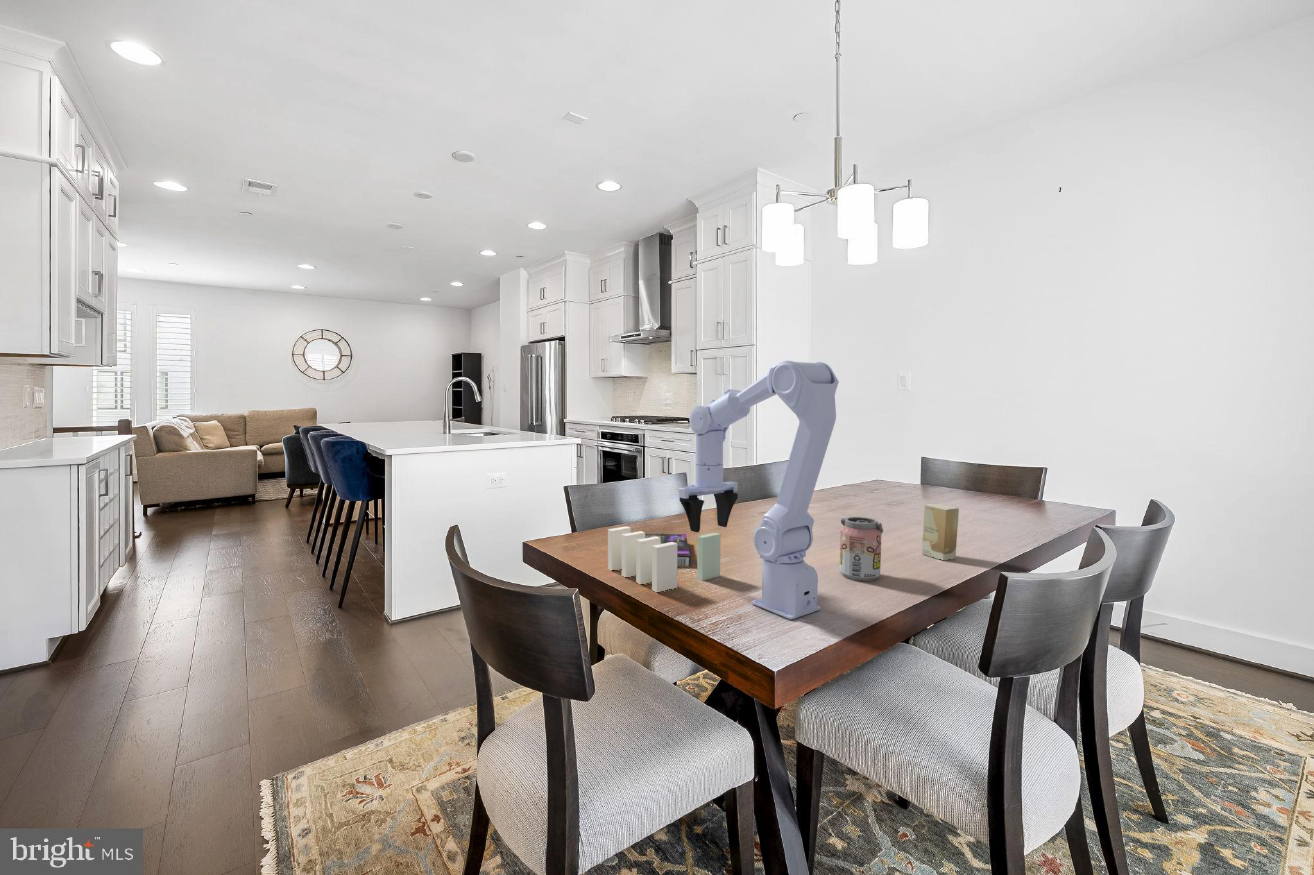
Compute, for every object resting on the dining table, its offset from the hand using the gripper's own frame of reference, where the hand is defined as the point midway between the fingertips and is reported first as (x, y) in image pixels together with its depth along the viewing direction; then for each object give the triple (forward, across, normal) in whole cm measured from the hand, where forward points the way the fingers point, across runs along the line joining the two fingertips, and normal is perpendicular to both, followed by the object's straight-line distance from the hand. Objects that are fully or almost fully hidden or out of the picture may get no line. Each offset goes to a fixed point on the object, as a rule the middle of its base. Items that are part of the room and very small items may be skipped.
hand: (708, 528), depth 117 cm
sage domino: (+10, 0, 0) cm, 10 cm away
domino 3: (+10, +12, -5) cm, 17 cm away
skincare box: (+11, -54, +21) cm, 59 cm away
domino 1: (+10, +12, -16) cm, 22 cm away
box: (+11, -2, -20) cm, 23 cm away
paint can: (+11, -27, +18) cm, 34 cm away
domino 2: (+10, +12, -10) cm, 19 cm away
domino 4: (+10, +12, 0) cm, 16 cm away
